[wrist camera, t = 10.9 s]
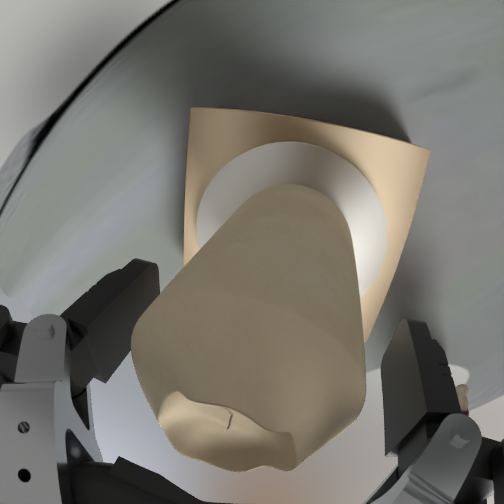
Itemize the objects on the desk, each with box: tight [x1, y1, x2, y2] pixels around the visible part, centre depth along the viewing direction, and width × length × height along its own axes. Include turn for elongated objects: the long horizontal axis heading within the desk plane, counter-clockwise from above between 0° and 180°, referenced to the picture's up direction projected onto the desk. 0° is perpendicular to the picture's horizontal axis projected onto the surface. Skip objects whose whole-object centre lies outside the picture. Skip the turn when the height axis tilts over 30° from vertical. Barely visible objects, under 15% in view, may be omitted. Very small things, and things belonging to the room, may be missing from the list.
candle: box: [131, 184, 366, 472], centre depth 9 cm, size 6×6×10 cm
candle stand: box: [184, 107, 430, 343], centre depth 16 cm, size 11×11×4 cm
